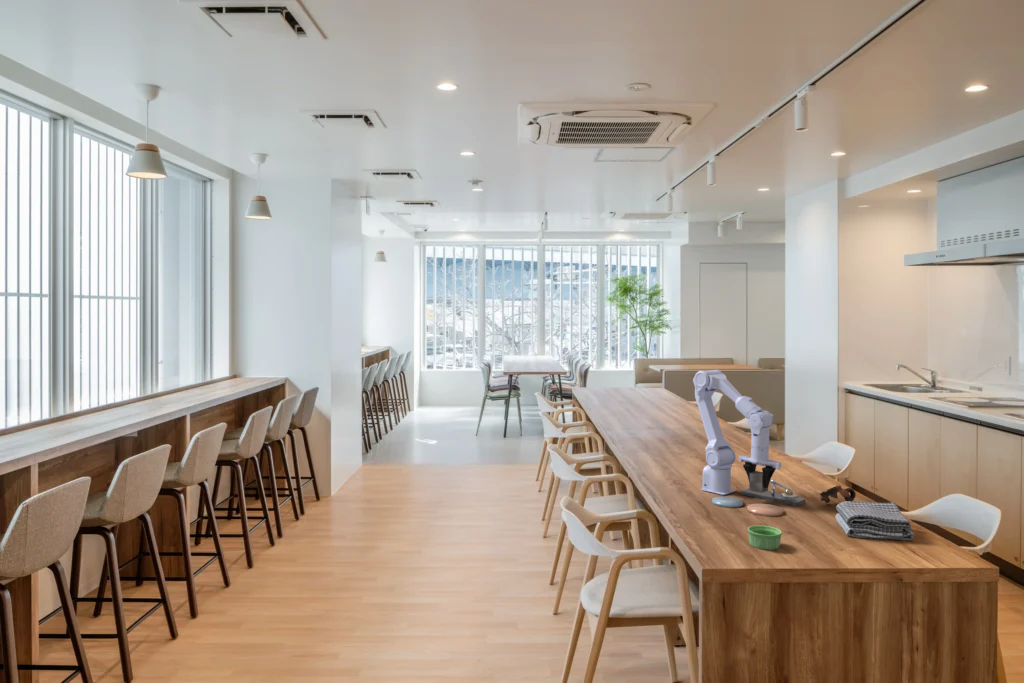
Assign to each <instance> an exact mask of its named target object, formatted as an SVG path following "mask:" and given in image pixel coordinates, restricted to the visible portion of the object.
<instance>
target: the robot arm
mask: <svg viewBox="0 0 1024 683" xmlns="http://www.w3.org/2000/svg"><path fill="white" fill-rule="evenodd" d="M692 383H693V385H694V398H695V400H696V405H697V408H698V412H699V414H700V418H701V421H702V424H703V428H704V431H705V434H706V435H705V436H706V438H707V441H708V443H707V444H706V446H705V449H704V451H705V460H706V463H707V465H705V466H704V467H703V469H702V486H701V487H702V488H700V489H701V491H704V492H708V493H713V494H718V495H721V496H726V495H729V494H731V493H734V492H736V489H732V488H731V482H732V481H731V479H732V475H731V474H732V467H733V464H734V463H735V462H736V458H737V456H736V453H735V451H734V450H733V448H732V447H731V444H730V442H729V441H727V440H726V439H725V438H724V435H723V431H722V428H721V425H720V422H719V419H718V415H717V412H716V409H715V406H714V405H715V404H714V402H713V399H712V397H713V395H714V393H716V391H717V390H719V391H721V393H723V394H724V395H725V396H726V397H728V398H729V399H730V400H731V401H733V403H734V404H735V409H736V410H737V411H738V412H740V414H742V416H744V417H745V418H746V419H747V423H748V425H749V427H750V432H751V435H750V436H751V439H750V440H751V442H750V444H751V445H750V456H746V455H739V456H738V462H739V463H743V465H742V467H743V469H744V471H745V473H746V475H747V479H748V485H749V484H750V473H752V472H755V471H757V470H756V469H757V466H762V467H761V472H763V487H764V488H768V489H769V485H770V483H771V482H770V479H772V477H773V475H774V473H775V472H776V469H777V470H780V469H782V462H780V461H775V460H773V459H769V455H770V452H769V451H770V427H771V426H772V425H773V424H774V417H773V415H772V414H771V412H770V411H768V410H763V408H762V407H761V406H758V404H756V402H754V401H753V400H754V399H753V398H752V397H750V396H748V395H744V396H743V395H742V394H741V393H740V392H739V391H738V390H737V388H736V387H735V386H733V384H732V383H731V382H730V381H729V379H727V375H726V374H724V373H723V372H722V371H721V370H720V369H713V370H699V371H697V372H696V373H695V374H694V377H693V379H692Z"/></svg>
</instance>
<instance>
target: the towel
mask: <svg viewBox="0 0 1024 683" xmlns="http://www.w3.org/2000/svg"><path fill="white" fill-rule="evenodd" d="M835 509H836V511H837V512H838V513H836V515H835V520H836V522H837V523H838V524H839V526H840V528H841V529H842V530H843V532H844V533H845V534H846V536H848V537H850V538H855V537H856V538H857V539H858V538H859V539H873V538H874V539H875V540H876V539H877V540H878V539H879V540H896V541H897V540H899V541H900V540H901V541H912V540H913V539H914V537H915V533H914V532H913V531H912V524H911V522H910V521H909V520H908V518H906V516H904V515H903V514H902V512H901V510H900V508H899V507H898V505H897V504H896V503H895V502H869V501H845V500H844V501H841V502H840V503H837V505H836V506H835Z"/></svg>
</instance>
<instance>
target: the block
mask: <svg viewBox="0 0 1024 683" xmlns="http://www.w3.org/2000/svg"><path fill="white" fill-rule="evenodd" d="M748 485H749V488H748V489H749V490H750V491H755V492H759V493H763V492H766V491H769V487H768V488H764V487H763V471H759V470H755V472H752V473H750V484H749V483H748Z"/></svg>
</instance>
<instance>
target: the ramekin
mask: <svg viewBox="0 0 1024 683" xmlns="http://www.w3.org/2000/svg"><path fill="white" fill-rule="evenodd" d="M747 532H748V543H749V545H750V546H751V547H753V548H755V549H759V550H764V551H765V550H766V551H772V550H777V549H779V548H780V547H781V546H780V545H781V539H782V538H781V537H782V534H783V532H782V530H781V529H779V528H777V527H773V526H770V525H761V524H760V525H757V524H756V525H751V526H748V527H747Z"/></svg>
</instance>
